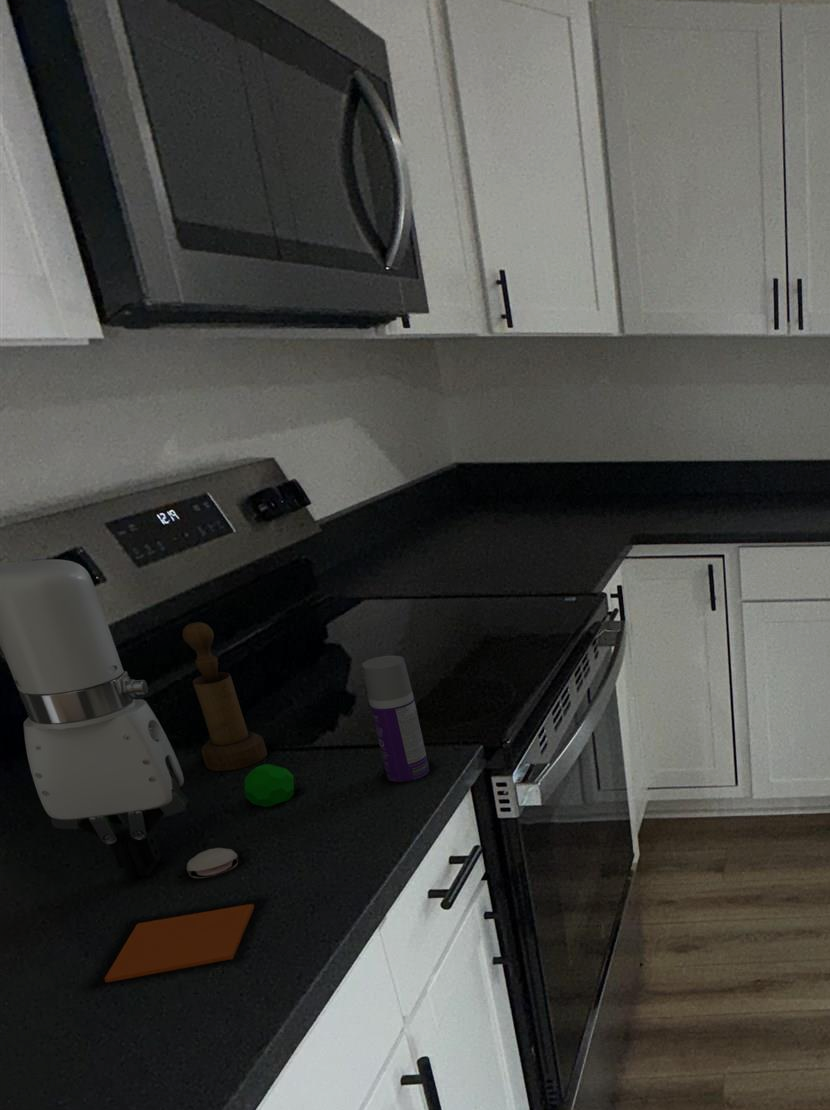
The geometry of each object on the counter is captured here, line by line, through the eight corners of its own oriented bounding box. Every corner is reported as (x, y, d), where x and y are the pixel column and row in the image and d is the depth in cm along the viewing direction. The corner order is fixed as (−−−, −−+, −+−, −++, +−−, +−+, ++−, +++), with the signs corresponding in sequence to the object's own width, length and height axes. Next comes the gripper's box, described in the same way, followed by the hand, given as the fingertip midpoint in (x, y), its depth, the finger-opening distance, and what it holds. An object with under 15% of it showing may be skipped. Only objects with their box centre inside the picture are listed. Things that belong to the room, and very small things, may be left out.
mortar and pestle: (221, 776, 113) (175, 635, 105) (196, 763, 116) (150, 626, 108) (277, 756, 118) (237, 620, 110) (251, 744, 121) (211, 612, 113)
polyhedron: (300, 808, 105) (289, 770, 103) (250, 819, 103) (237, 781, 101) (299, 790, 109) (288, 754, 107) (250, 800, 107) (239, 763, 105)
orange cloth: (98, 992, 76) (94, 982, 76) (135, 930, 84) (131, 921, 84) (237, 966, 80) (233, 956, 79) (260, 909, 87) (257, 899, 87)
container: (379, 783, 111) (350, 665, 105) (409, 767, 115) (384, 653, 109) (409, 789, 109) (381, 671, 103) (439, 773, 113) (414, 657, 107)
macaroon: (191, 889, 90) (183, 867, 89) (189, 866, 94) (182, 845, 93) (242, 875, 93) (235, 853, 91) (239, 853, 96) (232, 833, 95)
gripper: (187, 675, 89) (239, 839, 97) (-3, 694, 85) (67, 864, 92) (163, 703, 83) (221, 876, 90) (-44, 725, 78) (35, 905, 86)
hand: (143, 870), depth 91 cm, fingers closed
